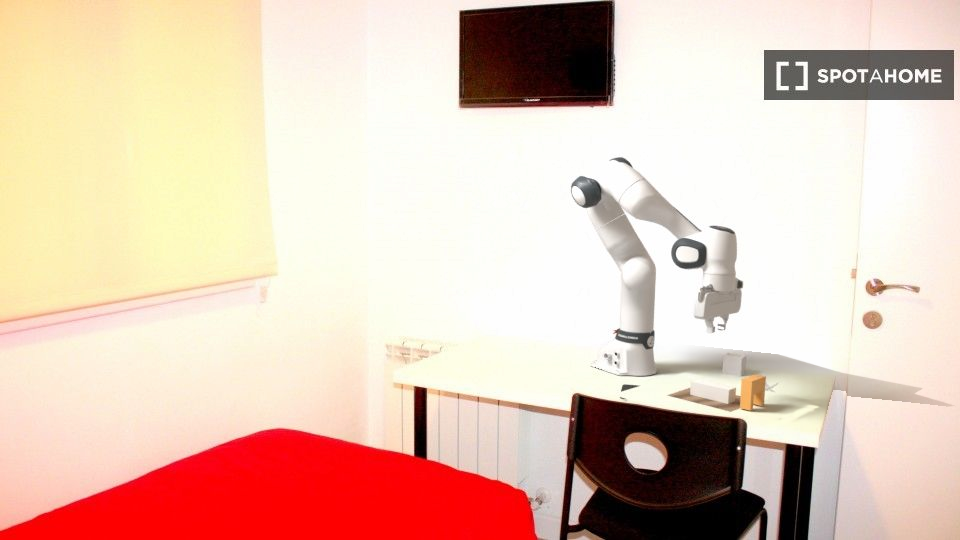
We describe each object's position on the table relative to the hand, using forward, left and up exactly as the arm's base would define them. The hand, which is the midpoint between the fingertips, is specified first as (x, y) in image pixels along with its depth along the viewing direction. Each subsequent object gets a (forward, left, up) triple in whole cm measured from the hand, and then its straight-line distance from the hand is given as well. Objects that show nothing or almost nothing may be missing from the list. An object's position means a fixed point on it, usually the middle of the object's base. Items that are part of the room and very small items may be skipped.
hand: (716, 331), depth 208 cm
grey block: (-13, +37, -21) cm, 45 cm away
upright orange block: (+12, 0, -19) cm, 23 cm away
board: (0, 0, -21) cm, 21 cm away
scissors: (+4, +27, -22) cm, 35 cm away
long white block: (0, 0, -20) cm, 20 cm away
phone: (-21, -9, -22) cm, 32 cm away
